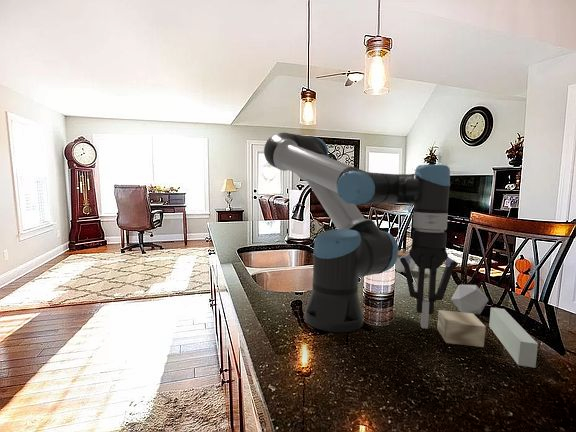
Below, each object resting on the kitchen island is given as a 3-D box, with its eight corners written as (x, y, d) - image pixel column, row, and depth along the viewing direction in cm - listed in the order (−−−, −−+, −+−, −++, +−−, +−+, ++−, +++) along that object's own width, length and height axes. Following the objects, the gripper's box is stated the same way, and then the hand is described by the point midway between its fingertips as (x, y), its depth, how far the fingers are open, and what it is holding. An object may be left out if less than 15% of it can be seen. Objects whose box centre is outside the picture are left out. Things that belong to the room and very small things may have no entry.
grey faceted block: (484, 323, 90) (498, 292, 92) (455, 305, 91) (470, 275, 94) (468, 322, 98) (481, 293, 100) (441, 305, 99) (455, 278, 101)
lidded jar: (391, 273, 137) (392, 250, 136) (387, 267, 148) (389, 246, 147) (418, 275, 135) (420, 252, 134) (413, 268, 146) (414, 247, 145)
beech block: (445, 343, 76) (447, 322, 76) (437, 329, 84) (438, 310, 84) (483, 347, 75) (485, 326, 75) (471, 332, 83) (472, 313, 82)
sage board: (518, 365, 68) (520, 341, 67) (489, 326, 87) (490, 307, 86) (535, 367, 67) (538, 343, 66) (502, 327, 86) (504, 308, 85)
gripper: (401, 230, 78) (396, 328, 80) (463, 233, 74) (456, 336, 76) (400, 227, 85) (395, 316, 87) (456, 230, 81) (450, 323, 83)
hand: (423, 325), depth 81 cm, fingers closed
